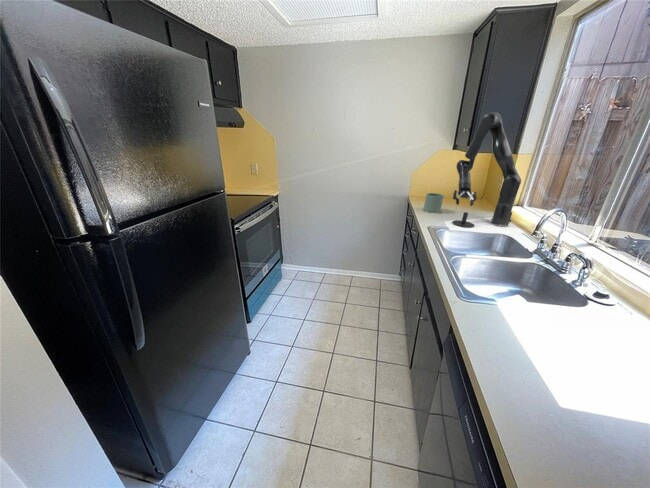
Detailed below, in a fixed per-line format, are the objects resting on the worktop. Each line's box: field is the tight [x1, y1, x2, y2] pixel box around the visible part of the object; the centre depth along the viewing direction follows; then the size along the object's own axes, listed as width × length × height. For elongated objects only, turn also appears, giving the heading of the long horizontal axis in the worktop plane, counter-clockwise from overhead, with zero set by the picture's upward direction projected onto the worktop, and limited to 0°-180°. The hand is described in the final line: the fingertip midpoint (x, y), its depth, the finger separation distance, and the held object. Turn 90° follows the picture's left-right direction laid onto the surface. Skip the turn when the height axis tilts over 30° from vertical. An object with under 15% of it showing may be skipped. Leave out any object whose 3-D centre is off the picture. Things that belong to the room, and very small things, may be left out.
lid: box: [452, 211, 475, 229], centre depth 172 cm, size 13×13×9 cm
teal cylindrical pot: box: [423, 192, 445, 214], centre depth 201 cm, size 12×12×12 cm
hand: (464, 204), depth 174 cm, fingers open, 8 cm apart
